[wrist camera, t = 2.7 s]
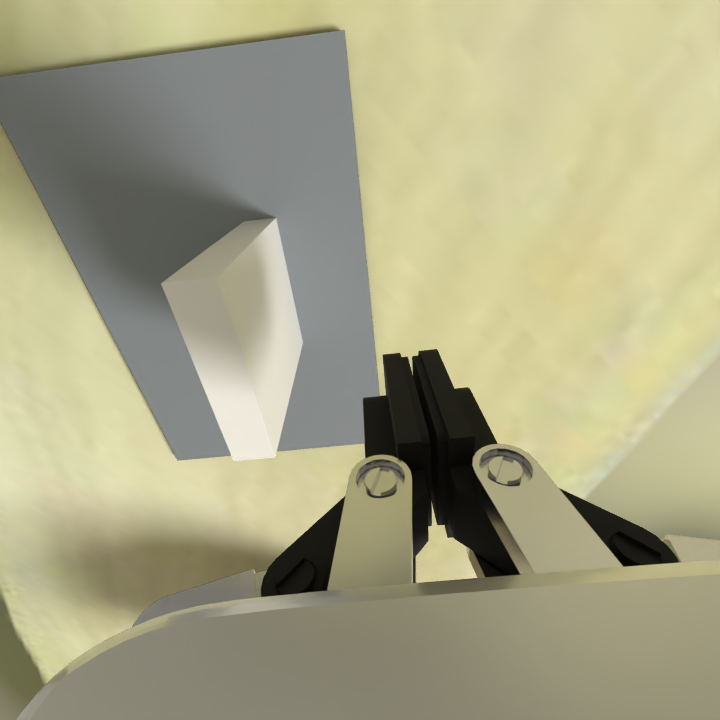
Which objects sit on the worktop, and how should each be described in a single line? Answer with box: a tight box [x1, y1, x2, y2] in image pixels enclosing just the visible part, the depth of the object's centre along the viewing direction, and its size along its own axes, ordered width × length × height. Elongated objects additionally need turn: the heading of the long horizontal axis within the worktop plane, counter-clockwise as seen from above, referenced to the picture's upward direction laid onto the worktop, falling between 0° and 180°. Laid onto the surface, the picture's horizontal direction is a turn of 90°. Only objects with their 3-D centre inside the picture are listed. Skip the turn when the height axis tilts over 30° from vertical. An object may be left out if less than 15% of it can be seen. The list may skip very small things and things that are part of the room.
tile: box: [161, 218, 303, 461], centre depth 16 cm, size 7×2×9 cm, turn 6°
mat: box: [0, 30, 380, 460], centre depth 20 cm, size 22×15×1 cm
